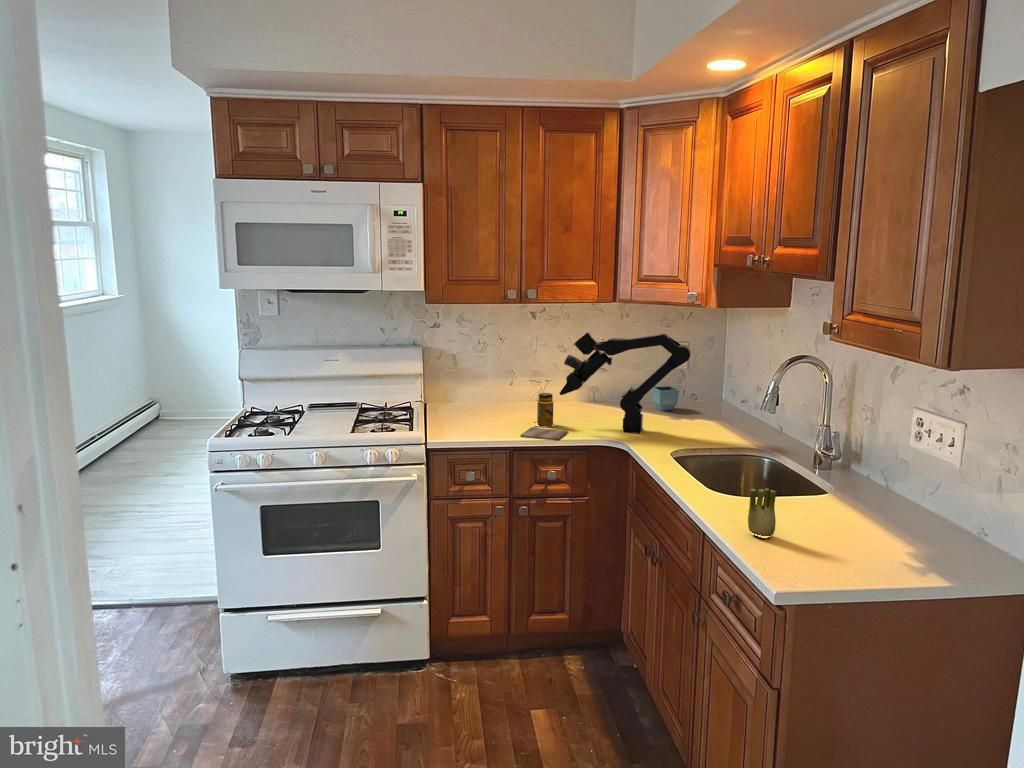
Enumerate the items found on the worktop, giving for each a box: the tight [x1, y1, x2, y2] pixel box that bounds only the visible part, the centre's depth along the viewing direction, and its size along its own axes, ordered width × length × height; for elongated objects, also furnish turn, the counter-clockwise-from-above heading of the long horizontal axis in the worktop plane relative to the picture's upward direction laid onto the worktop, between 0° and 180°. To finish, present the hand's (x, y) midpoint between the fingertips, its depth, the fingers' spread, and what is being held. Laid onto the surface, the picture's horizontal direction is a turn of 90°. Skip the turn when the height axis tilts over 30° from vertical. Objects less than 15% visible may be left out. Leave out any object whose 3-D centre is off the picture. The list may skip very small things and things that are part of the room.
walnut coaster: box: [519, 427, 568, 441], centre depth 281 cm, size 14×12×1 cm
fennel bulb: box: [747, 487, 777, 537], centre depth 185 cm, size 6×5×12 cm
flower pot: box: [651, 385, 680, 411], centre depth 322 cm, size 9×9×9 cm
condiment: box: [533, 392, 554, 428], centre depth 294 cm, size 7×8×12 cm
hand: (562, 392), depth 291 cm, fingers open, 9 cm apart
